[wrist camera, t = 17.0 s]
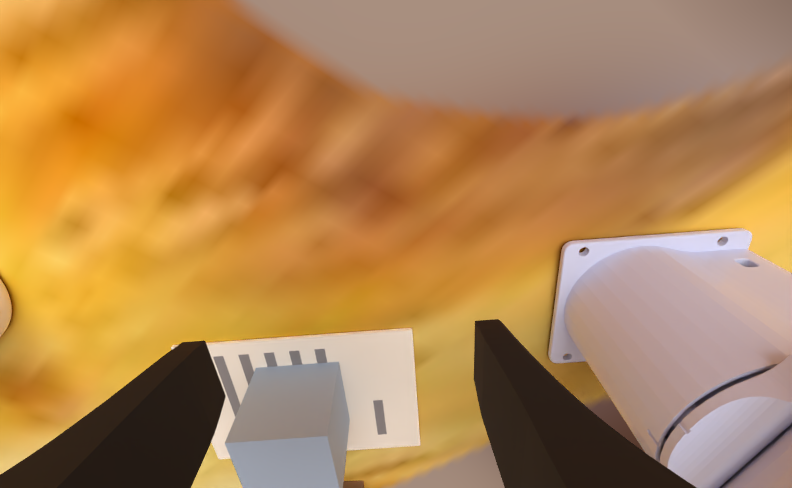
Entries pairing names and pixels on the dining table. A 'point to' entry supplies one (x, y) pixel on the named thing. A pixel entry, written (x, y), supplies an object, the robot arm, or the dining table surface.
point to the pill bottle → (4, 308)
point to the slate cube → (291, 428)
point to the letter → (361, 374)
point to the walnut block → (353, 484)
